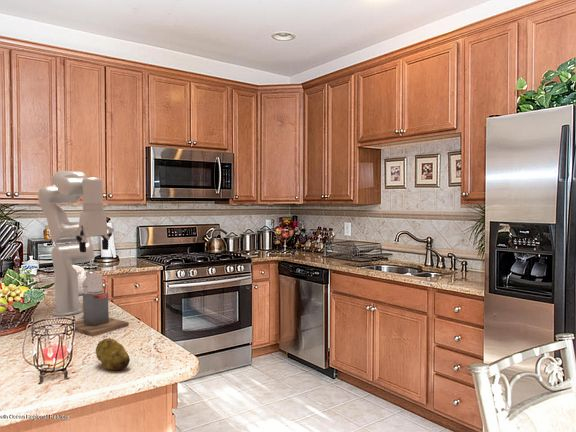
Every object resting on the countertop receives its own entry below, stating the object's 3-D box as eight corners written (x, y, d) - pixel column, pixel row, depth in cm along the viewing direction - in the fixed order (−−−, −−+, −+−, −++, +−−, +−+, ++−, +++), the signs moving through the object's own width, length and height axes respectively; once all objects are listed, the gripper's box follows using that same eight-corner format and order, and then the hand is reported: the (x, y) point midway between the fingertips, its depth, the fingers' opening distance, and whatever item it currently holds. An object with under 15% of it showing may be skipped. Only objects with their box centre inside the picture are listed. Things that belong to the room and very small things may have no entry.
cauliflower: (47, 282, 230) (65, 256, 239) (51, 292, 245) (68, 266, 254) (84, 298, 233) (100, 271, 242) (86, 306, 248) (101, 281, 256)
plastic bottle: (94, 319, 193) (92, 273, 192) (80, 318, 194) (78, 272, 193) (103, 315, 199) (101, 270, 198) (89, 314, 200) (88, 270, 199)
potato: (102, 376, 131) (102, 349, 130) (94, 363, 141) (93, 338, 141) (131, 370, 135) (131, 344, 135) (121, 357, 146) (120, 333, 146)
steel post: (88, 323, 180) (87, 275, 179) (97, 320, 184) (96, 273, 183) (94, 324, 178) (93, 276, 177) (104, 322, 181) (102, 274, 180)
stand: (63, 327, 180) (62, 294, 179) (99, 318, 193) (98, 287, 192) (92, 336, 169) (91, 301, 168) (128, 325, 182) (127, 293, 181)
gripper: (106, 207, 188) (108, 248, 188) (66, 209, 173) (68, 252, 174) (117, 207, 184) (118, 249, 184) (77, 209, 169) (79, 253, 170)
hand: (94, 250), depth 179 cm, fingers open, 9 cm apart
